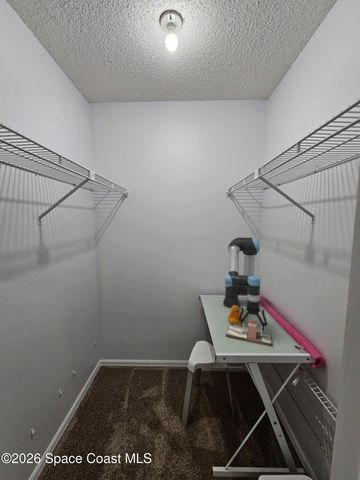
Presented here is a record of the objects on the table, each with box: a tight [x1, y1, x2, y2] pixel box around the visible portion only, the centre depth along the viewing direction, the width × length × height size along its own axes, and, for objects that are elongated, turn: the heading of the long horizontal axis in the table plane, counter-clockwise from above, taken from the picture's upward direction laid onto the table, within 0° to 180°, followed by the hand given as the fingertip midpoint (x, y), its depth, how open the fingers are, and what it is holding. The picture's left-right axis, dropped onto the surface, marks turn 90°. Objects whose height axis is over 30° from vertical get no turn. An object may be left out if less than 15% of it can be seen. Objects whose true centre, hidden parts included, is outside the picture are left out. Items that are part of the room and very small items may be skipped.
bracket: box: [227, 305, 246, 326], centre depth 154 cm, size 11×7×12 cm, turn 94°
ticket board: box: [225, 326, 274, 347], centre depth 134 cm, size 12×28×2 cm, turn 68°
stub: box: [247, 319, 258, 339], centre depth 133 cm, size 9×5×8 cm, turn 158°
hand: (252, 333), depth 133 cm, fingers open, 10 cm apart
